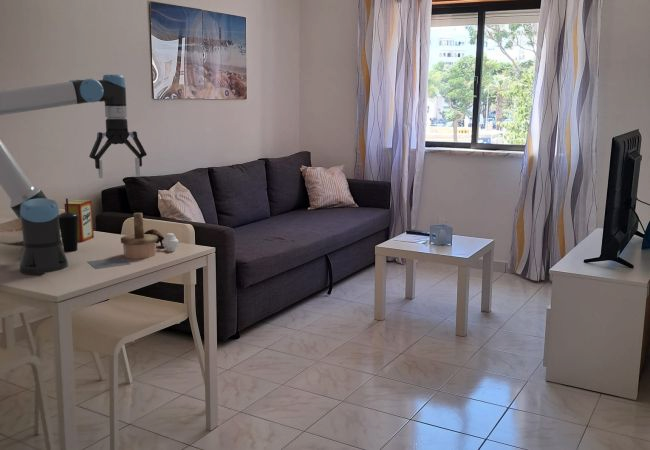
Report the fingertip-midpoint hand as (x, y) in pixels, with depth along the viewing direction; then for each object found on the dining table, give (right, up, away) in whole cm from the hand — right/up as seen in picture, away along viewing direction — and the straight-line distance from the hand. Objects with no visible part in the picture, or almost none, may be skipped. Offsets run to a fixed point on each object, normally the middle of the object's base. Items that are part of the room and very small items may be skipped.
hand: (119, 176), depth 244 cm
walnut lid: (+8, -24, -2) cm, 25 cm away
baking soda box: (-25, -24, +28) cm, 45 cm away
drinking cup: (-22, -28, +9) cm, 36 cm away
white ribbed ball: (+17, -28, +9) cm, 34 cm away
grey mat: (0, -32, -13) cm, 34 cm away
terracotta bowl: (+8, -29, -1) cm, 31 cm away
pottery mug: (+9, -27, +15) cm, 32 cm away
